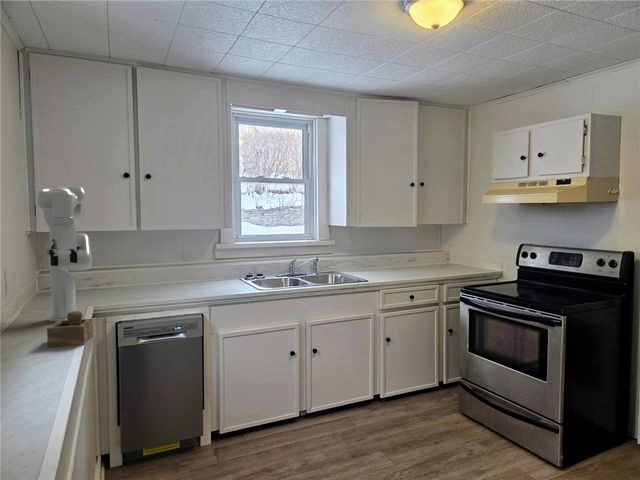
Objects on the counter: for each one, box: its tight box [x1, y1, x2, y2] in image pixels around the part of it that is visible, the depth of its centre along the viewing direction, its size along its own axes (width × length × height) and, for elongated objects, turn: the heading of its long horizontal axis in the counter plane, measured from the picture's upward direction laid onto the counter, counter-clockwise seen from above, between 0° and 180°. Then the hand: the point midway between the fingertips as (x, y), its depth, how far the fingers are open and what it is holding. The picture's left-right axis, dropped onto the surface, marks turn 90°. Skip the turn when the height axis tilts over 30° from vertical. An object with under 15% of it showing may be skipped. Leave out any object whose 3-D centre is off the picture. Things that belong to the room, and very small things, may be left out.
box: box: [46, 318, 94, 348], centre depth 165 cm, size 12×12×7 cm
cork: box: [67, 310, 84, 326], centre depth 167 cm, size 6×6×11 cm
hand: (64, 264), depth 177 cm, fingers open, 9 cm apart
